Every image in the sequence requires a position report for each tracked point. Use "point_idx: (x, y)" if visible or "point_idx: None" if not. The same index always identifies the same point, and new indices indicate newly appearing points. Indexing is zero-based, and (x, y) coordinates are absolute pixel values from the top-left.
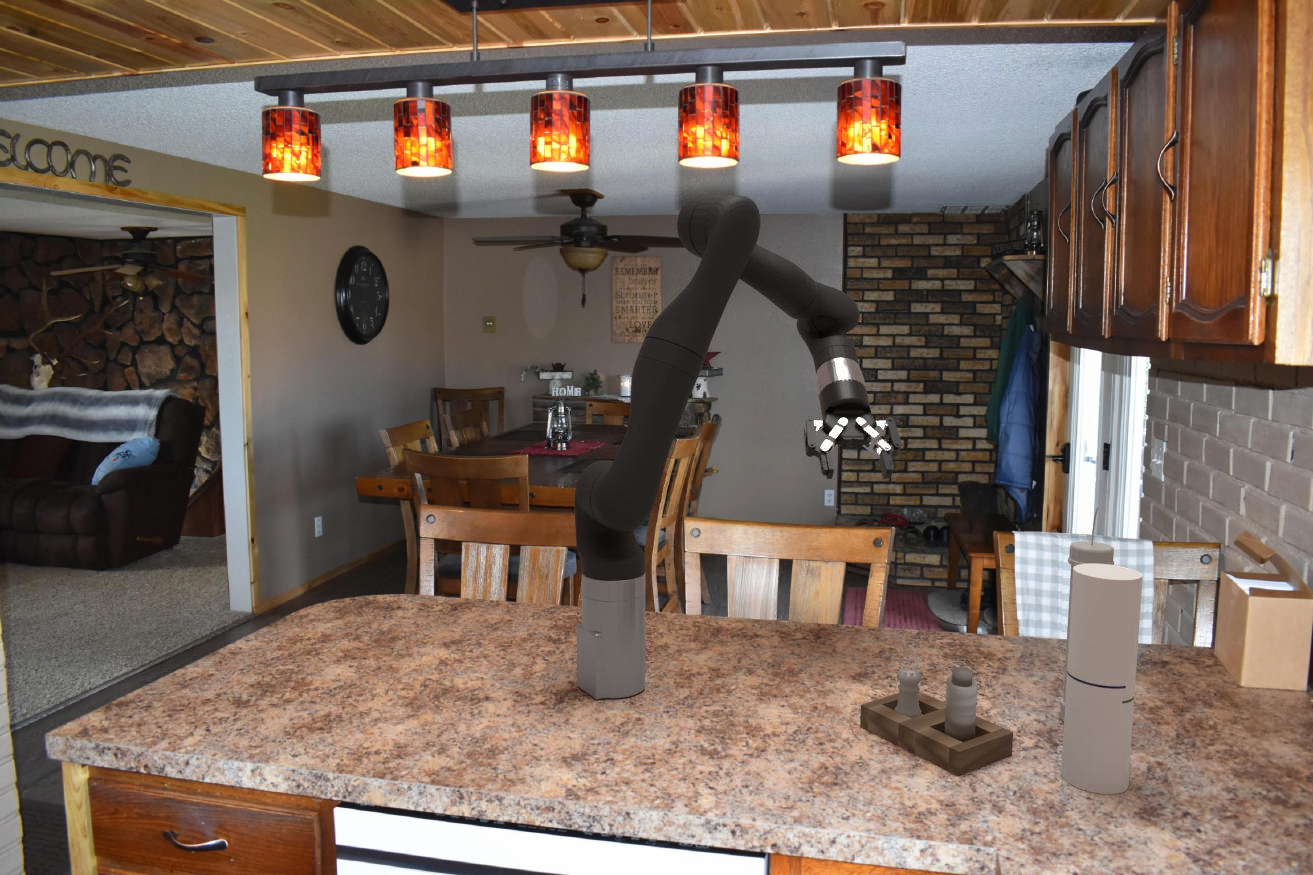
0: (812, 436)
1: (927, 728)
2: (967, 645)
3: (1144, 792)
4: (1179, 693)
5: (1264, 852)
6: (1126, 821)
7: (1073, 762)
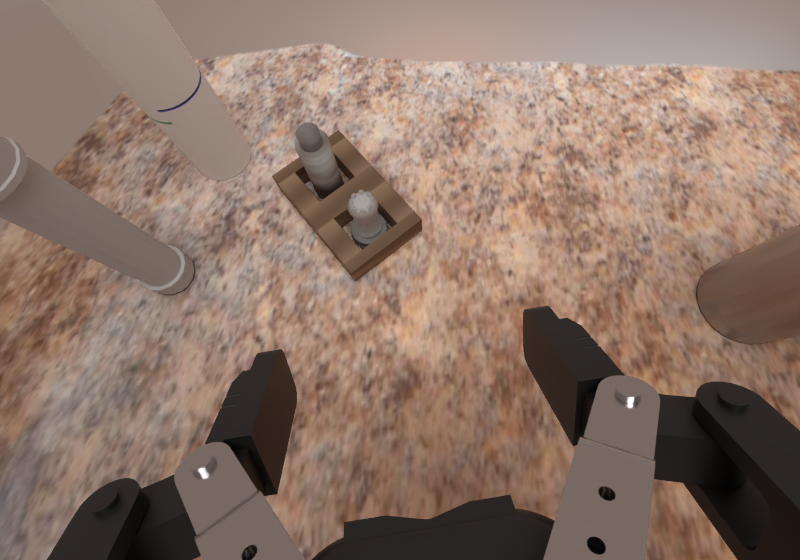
0: (787, 462)
1: (357, 172)
2: None
3: None
4: (6, 375)
5: None
6: (232, 99)
7: (239, 130)
